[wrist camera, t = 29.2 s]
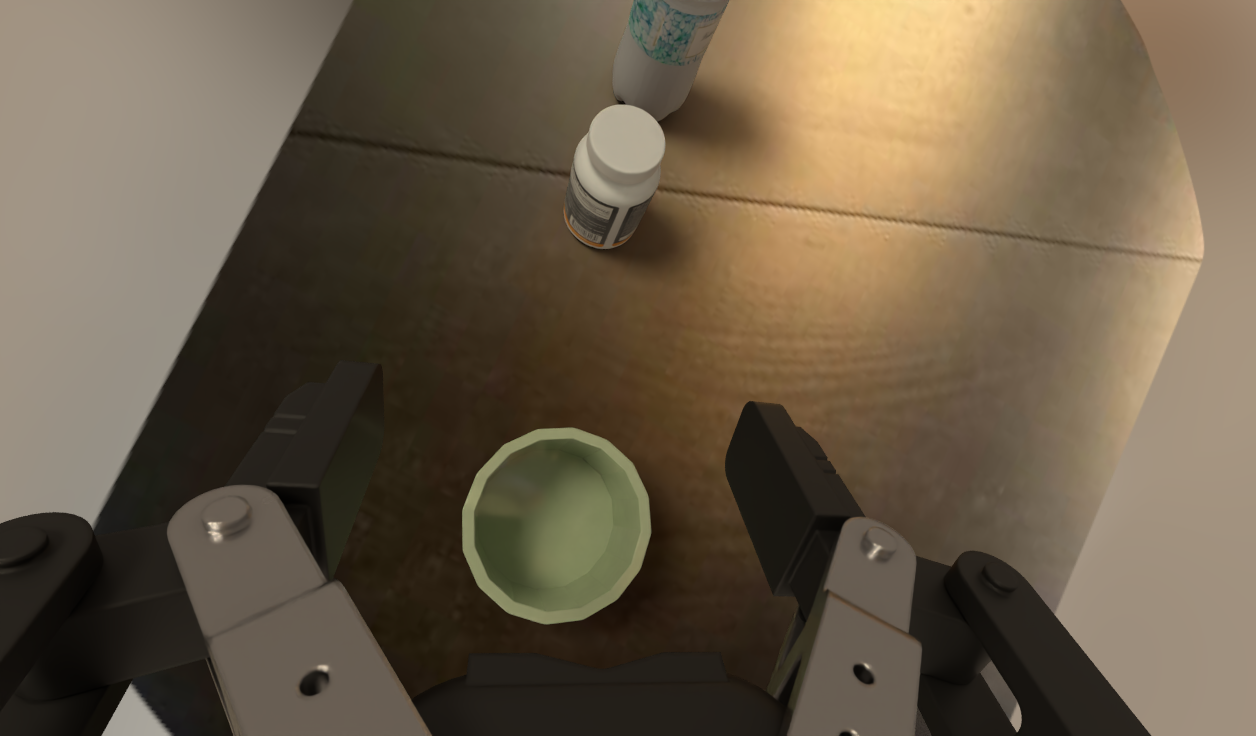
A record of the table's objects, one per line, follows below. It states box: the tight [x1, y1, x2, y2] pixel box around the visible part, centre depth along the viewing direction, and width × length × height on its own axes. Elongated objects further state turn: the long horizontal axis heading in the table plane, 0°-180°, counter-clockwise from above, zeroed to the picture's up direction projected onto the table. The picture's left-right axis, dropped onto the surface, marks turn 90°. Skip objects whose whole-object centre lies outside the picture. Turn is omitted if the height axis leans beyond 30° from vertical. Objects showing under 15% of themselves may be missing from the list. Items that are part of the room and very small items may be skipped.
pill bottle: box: [564, 105, 665, 249], centre depth 38 cm, size 6×6×10 cm
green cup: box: [462, 428, 651, 624], centre depth 33 cm, size 10×10×8 cm
